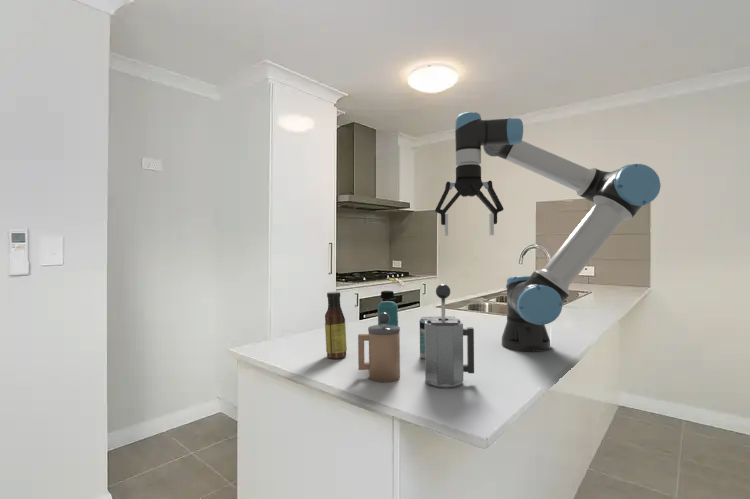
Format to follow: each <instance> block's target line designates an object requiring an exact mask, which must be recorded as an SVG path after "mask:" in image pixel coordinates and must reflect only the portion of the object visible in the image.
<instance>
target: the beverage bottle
mask: <svg viewBox="0 0 750 499" xmlns="http://www.w3.org/2000/svg"><path fill="white" fill-rule="evenodd" d="M394 298H395V294H394V291H393V290H382V291H381V292H380V299H387V300H385V301H380V303H378V304H377V317H378V316H379V315H380V314H381V313H383V312H385V313H387V314H388V315H389V317H390V320H389V322H388V323H387V324H386V325H395V326H398V327H399V316H398V315H399V314H398V307H399V306H398V304H397V303H396V302H395V301H391V300H388V299H394ZM377 325H382V324H381V323H380V322H379V320H378V319H377Z"/></svg>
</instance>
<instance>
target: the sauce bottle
mask: <svg viewBox="0 0 750 499" xmlns="http://www.w3.org/2000/svg"><path fill="white" fill-rule="evenodd" d="M326 298H327V302H328V303H327V311H326V312H325V314H324V318H325V319H324V321H325V322H324V328H325V332H324V333H325V350H326V351H325V352H326V356H327V357H326V358H329V359H332V360H333V359H335V360H336V359H343V358H345V357H346V356H347V349H348V348H347V332H346V331H347V330H346V318H345V315H344V312H343V309H342V307H341V292H340V291H329V292H328V291H327V293H326Z"/></svg>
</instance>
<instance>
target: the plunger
mask: <svg viewBox="0 0 750 499" xmlns="http://www.w3.org/2000/svg"><path fill="white" fill-rule="evenodd" d="M435 294H436V296H437V298H439V299H440V300H441V303H440V304H441V308H440V309H441V312H440V313H441V315H440V316H441V317H442V320H445V317H446V299H447V298H449V296H450V295H451V288H450V286H448V284H444V283H441V284H439V285H437V287H436V289H435Z"/></svg>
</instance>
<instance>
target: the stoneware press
mask: <svg viewBox="0 0 750 499" xmlns="http://www.w3.org/2000/svg"><path fill="white" fill-rule="evenodd" d="M378 320H379V322H380V323H381V324H382V325H378V324H374V325H370V326H368V329H367V332H368V333H358V334H357V341H358V344H357V346H358V347H357V348H358V350H357V354H358V357H357V358H358V359H357V360H358V363H357V364H358V371H368V378H369V380H371V381H374V382H377V383H391V382H396V381H398V380H400V378H401V355H400V354H401V352H400V351H401V347H400V346H401V345H400V341H401V340H400V338H401V337H400V335H401V333H400V332H401V327H400V326H399V325H398V326H395V325H386V324H387V323H388V322H389V320H390V317H389V315H388V314H387V313H385V312H383V313H381V314H380V315H379V316H378V315H377V321H378ZM365 341H368V362H365Z"/></svg>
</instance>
